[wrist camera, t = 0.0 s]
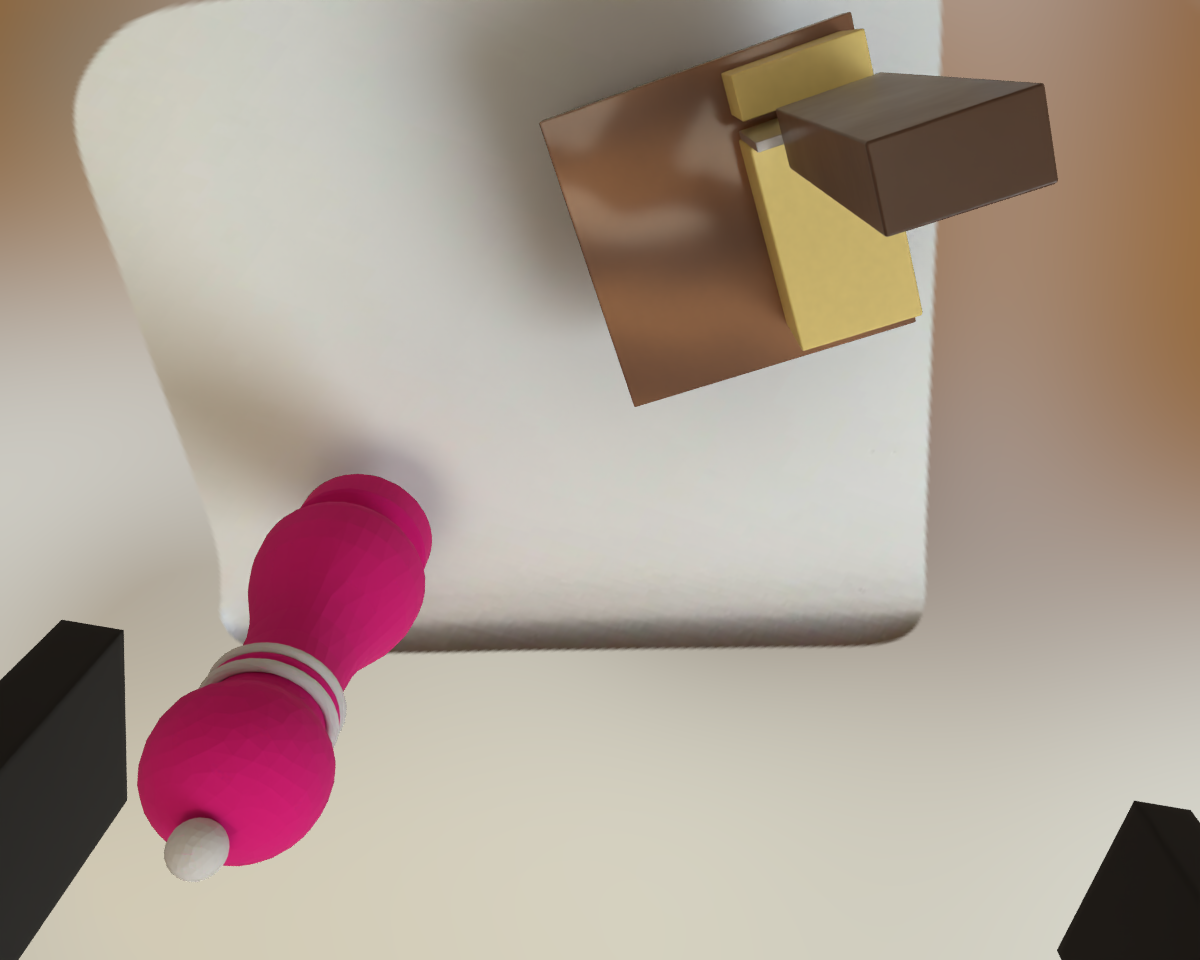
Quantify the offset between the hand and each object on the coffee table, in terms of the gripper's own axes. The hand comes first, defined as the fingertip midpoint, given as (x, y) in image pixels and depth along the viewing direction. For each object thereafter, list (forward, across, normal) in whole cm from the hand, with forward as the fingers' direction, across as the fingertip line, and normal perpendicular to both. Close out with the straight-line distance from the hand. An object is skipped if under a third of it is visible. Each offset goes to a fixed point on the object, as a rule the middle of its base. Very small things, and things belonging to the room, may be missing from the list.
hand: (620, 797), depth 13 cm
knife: (+26, +5, +8) cm, 28 cm away
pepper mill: (+31, -10, -14) cm, 35 cm away
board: (+31, +4, +3) cm, 31 cm away
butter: (+29, +6, +5) cm, 30 cm away
